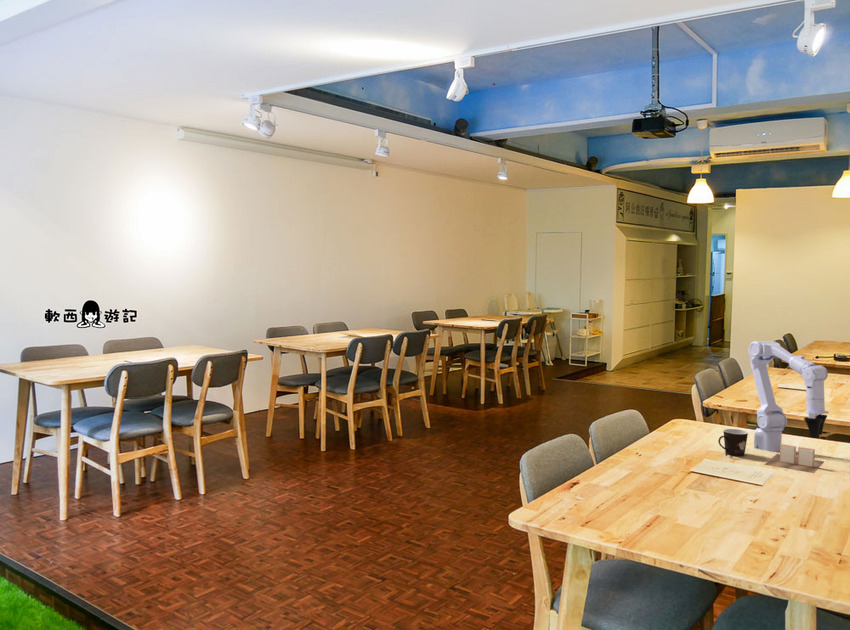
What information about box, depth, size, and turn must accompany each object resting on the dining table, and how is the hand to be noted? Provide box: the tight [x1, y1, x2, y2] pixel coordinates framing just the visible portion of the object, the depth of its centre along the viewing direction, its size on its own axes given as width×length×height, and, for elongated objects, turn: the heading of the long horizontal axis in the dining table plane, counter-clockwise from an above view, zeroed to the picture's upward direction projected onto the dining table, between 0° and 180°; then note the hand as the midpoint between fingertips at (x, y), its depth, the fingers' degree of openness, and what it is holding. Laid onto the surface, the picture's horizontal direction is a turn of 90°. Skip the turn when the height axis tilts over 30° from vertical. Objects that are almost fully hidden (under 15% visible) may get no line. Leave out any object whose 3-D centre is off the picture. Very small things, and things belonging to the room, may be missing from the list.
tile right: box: [797, 446, 816, 468], centre depth 246 cm, size 5×2×6 cm, turn 50°
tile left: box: [779, 443, 797, 465], centre depth 249 cm, size 5×2×6 cm, turn 50°
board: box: [763, 453, 825, 474], centre depth 250 cm, size 16×19×1 cm
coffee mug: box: [717, 428, 749, 458], centre depth 261 cm, size 12×9×10 cm
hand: (816, 435), depth 248 cm, fingers open, 7 cm apart
